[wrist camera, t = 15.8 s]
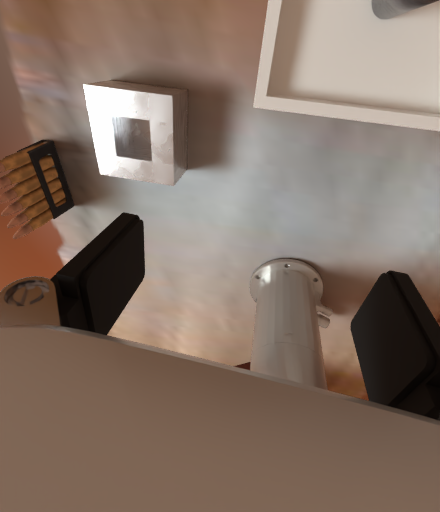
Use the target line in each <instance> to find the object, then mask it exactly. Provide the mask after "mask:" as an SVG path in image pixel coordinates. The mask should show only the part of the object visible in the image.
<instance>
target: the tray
mask: <svg viewBox="0 0 440 512" xmlns="http://www.w3.org/2000/svg"><path fill="white" fill-rule="evenodd" d="M253 107H254V108H262V109H270V110H278V111H286V112H293V113H301V114H309V115H317V116H325V117H333V118H341V119H348V120H356V121H364V122H372V123H380V124H388V125H396V126H403V127H411V128H419V129H427V130H435V131H440V0H439V1H436V2H434V3H431V4H428V5H425V6H423V7H420V8H417V9H414V10H412V11H409V12H406V13H404V14H401V15H398V16H395V17H393V18H390V19H379V18H378V17H376V16H375V15H374V13H373V10H372V0H268V7H267V14H266V21H265V28H264V35H263V42H262V50H261V57H260V64H259V71H258V78H257V85H256V92H255V99H254V106H253Z"/></svg>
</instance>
